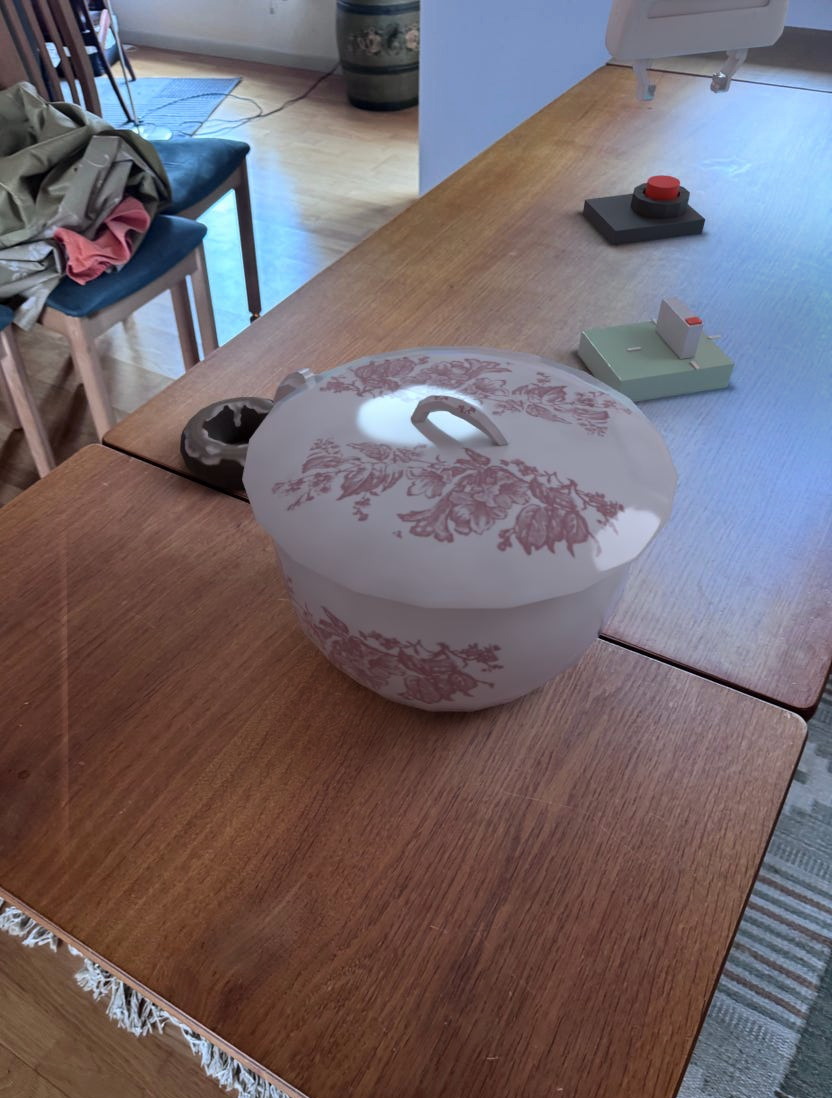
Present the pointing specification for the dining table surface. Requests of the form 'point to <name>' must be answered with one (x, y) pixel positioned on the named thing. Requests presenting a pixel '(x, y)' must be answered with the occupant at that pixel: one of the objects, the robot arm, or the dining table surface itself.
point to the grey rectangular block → (679, 327)
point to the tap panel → (651, 362)
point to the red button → (662, 187)
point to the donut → (222, 439)
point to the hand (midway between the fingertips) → (681, 95)
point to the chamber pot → (456, 516)
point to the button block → (643, 217)
